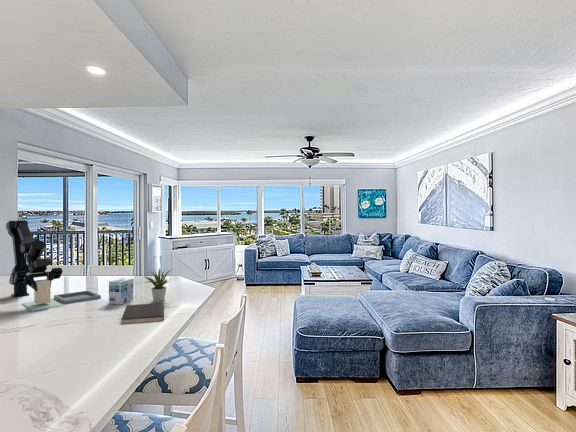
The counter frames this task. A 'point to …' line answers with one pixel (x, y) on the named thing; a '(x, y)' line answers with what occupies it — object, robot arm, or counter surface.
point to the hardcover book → (143, 313)
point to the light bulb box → (121, 290)
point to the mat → (41, 306)
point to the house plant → (158, 286)
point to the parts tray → (77, 297)
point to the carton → (42, 292)
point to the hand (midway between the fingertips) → (43, 289)
